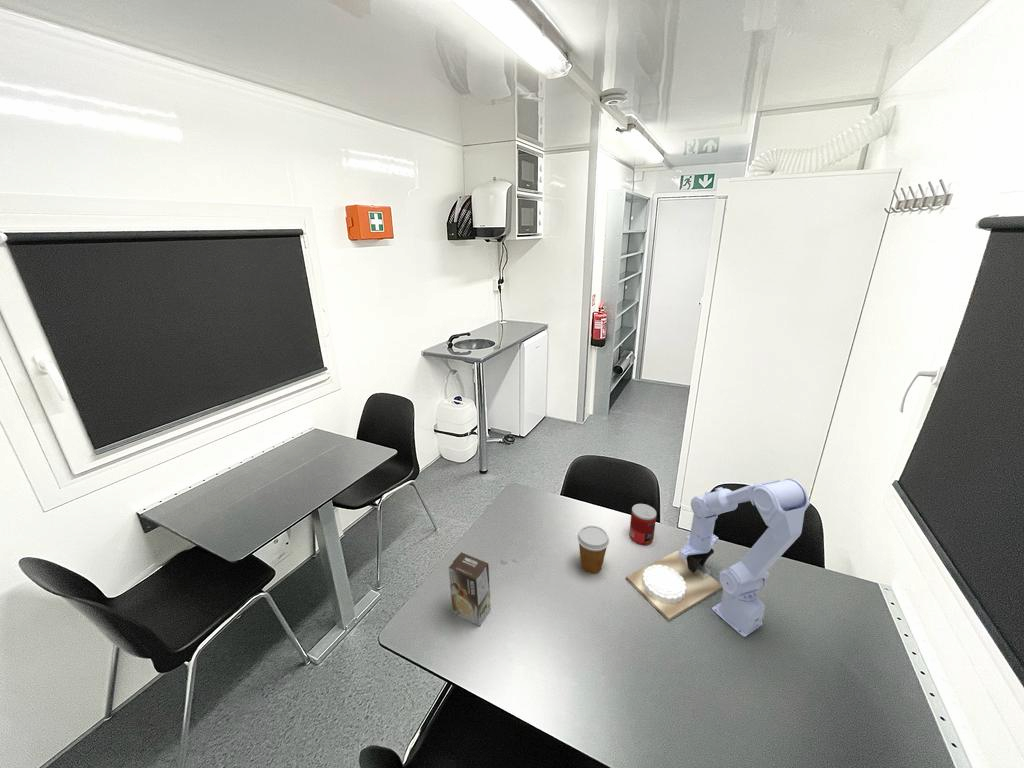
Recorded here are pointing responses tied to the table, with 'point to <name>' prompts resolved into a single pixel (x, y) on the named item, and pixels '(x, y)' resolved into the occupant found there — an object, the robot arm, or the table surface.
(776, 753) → the table surface
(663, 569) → the mooncake
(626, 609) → the table surface
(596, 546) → the disposable coffee cup
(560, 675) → the table surface
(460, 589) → the coffee box
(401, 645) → the table surface
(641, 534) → the canned food
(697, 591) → the wooden cutting board
